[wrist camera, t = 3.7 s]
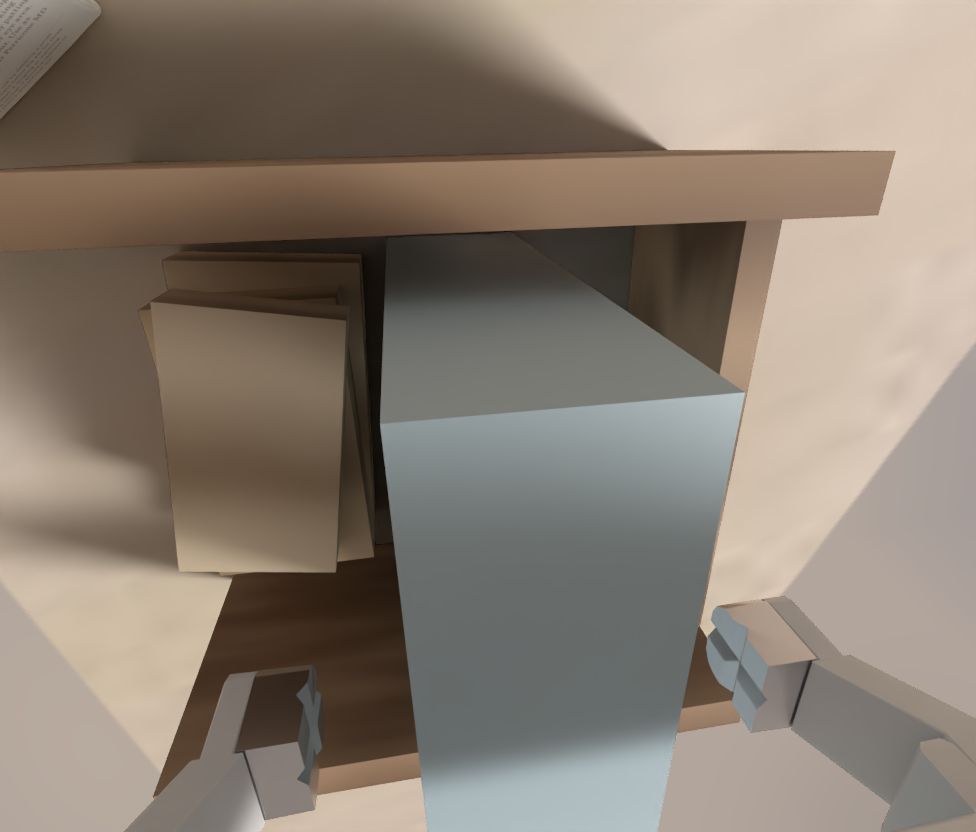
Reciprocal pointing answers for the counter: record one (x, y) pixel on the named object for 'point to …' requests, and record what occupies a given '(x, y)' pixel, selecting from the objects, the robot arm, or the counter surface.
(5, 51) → the small box
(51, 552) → the counter surface
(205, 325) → the offcut stack
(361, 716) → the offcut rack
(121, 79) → the counter surface
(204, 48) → the counter surface
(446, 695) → the pale blue upright block
